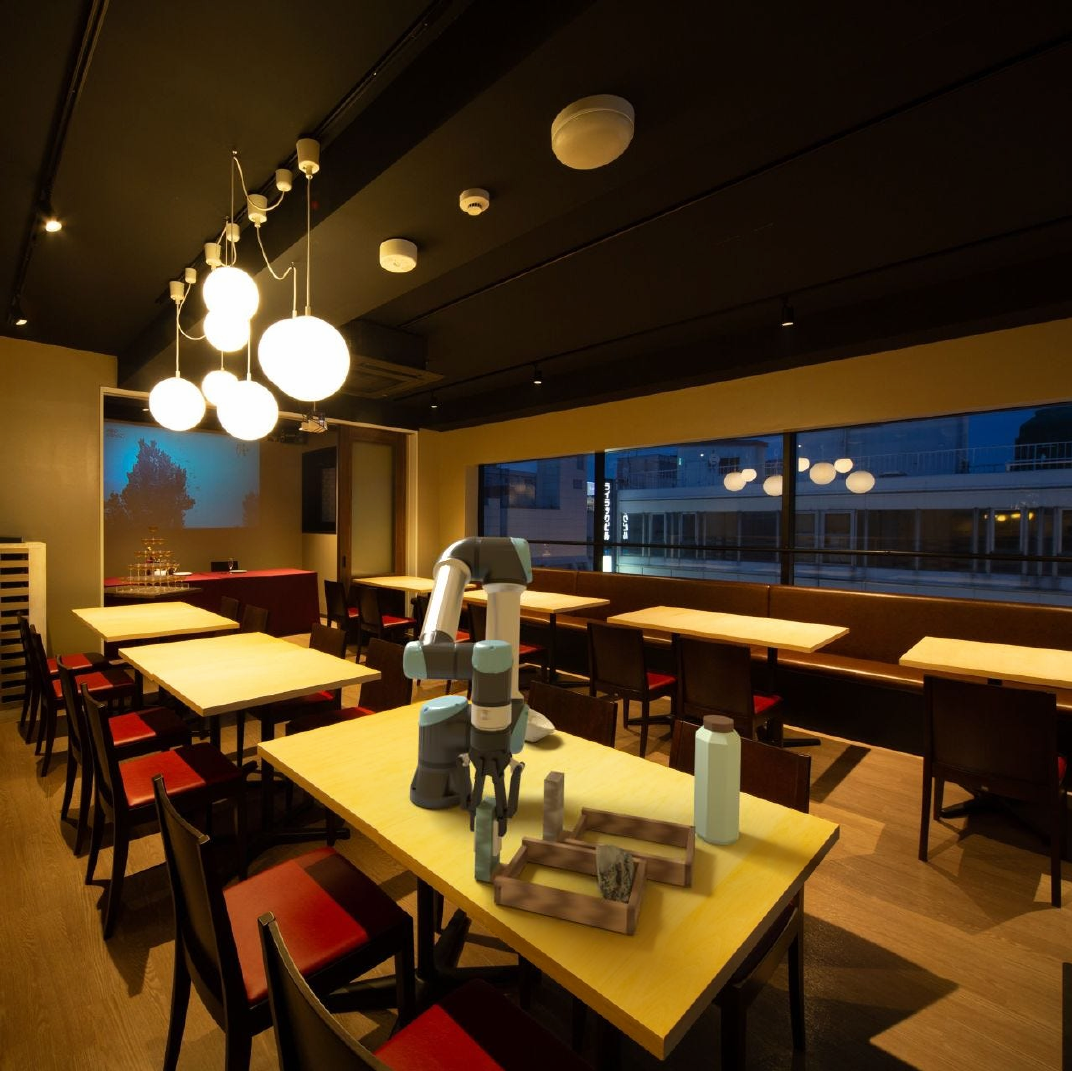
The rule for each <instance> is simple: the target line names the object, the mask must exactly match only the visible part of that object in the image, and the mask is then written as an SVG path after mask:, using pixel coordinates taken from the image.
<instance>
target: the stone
mask: <svg viewBox="0 0 1072 1071" xmlns="http://www.w3.org/2000/svg"><path fill="white" fill-rule="evenodd" d="M599 845H600V846H596V863H597V872H598V873H597V875H598V876H597V875H596V876H597V879H598V883H597V884H598V885H597V887H598V890H599V891H600V893H601V894H602V895H603V896H604V897H605V899H607V900H612V901H616V902H621V903H625V904H628V903H629V899H630V895H631V891H632V888H633V884H634V880H635V876H636V873H635V869H634V865H633V858H632V854H630V853H629V852H627V851H626V850H627V849H626V850H624V849H625V848H621V847H619V846H617V845H613V844H599Z"/></svg>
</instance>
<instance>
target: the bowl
mask: <svg viewBox="0 0 1072 1071" xmlns="http://www.w3.org/2000/svg"><path fill="white" fill-rule="evenodd" d="M555 731H556V728H555V726H554V724H553V723H552V722H551V721H550V720H549V719H548V718H547V717H546V716H545V715H543V714H541V713H540V712H537V711H536V710H534V709H531V708H529V714H528V722H527V729H526V735H525V741H528V742H537V741H539V740H540V739H543V738H544V737H546V736H548V735H550V734H553V733H554V732H555Z"/></svg>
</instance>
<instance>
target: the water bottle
mask: <svg viewBox="0 0 1072 1071" xmlns="http://www.w3.org/2000/svg"><path fill="white" fill-rule="evenodd" d="M702 722H703V725H702V726H701V727H700V728H698V730H695V743H694V744H695V746H694V747H695V748H694V750H695V751H694V786H693V788H694V789H693V824H692V826H696V829H695V836H697V837H698V838H700V839H702V840H703V841H705V842H706V843H708V844H713V845H719V846H727V845H730V844H733V843H735V842H737V840H738V839H739V838H740V837H739V836H740V835H739V834H740V802H741V801H740V798H741V793H740V792H741V791H740V790H741V753H742V752H741V750H742V749H741V748H742V747H741V746H742V742H741V736H740V734H739V733H738V732H737V731H736V730H735V729H734V728H735V726H734V719H733V718H730V717H728V716H725V715H716V714H711V715H710V714H708V715H704V716H703V721H702Z"/></svg>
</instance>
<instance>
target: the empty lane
mask: <svg viewBox="0 0 1072 1071" xmlns="http://www.w3.org/2000/svg"><path fill="white" fill-rule="evenodd" d="M564 800H565V772H559V771H555V770H554V771H553V770H550V772H549V773H548V774H547V775H546V777H544V779H543V809H542V810H543V811H542V812H543V813H542V840H546V841H551V842H556V843H561V844H566V845H571V846H576V847H582V848H587V849H592V850H596V846H600V845H601V844H600V843H593V842H589V841H582V839H583V837H584V834H585V833H586V831H587V830H591V831H596V832H602V833H607V834H612V835H618V836H623V837H628V838H634V839H639V840H646V841H651V842H656V843H662V844H667V845H673V846H678V847H683V848H684V847H685V848H686V852H685V860H683V859H677V858H672V857H667V856H663V855H657V854H652V853H645V852H642V851H641V852H640V851H635V850H630V849H625V848H623V849H624V850H626V851H627V852H629V853H630V854H632V857H633V858H638V859H643V860H647V870H646V880H652V881H656V882H661V883H667V884H672V885H676V886H681V887H685V888H692V883H693V871H694V861H695V852H696V851H695V850H696V833H695V829H696V826H693V825H689V824H683V823H678V822H671V821H667V820H661V819H660V820H659V819H653V818H647V817H643V816H637V815H630V814H625V813H619V812H613V811H609V810H608V811H607V810H602V809H601V810H600V809H595V808H590V807H584V806H582V808H581V810H580V811H581V814H580V816H579V818H578V820H577V822H576V824H575V825H574V827H573V828H572V830H569V829H564V808H565V806H564V805H565V803H564V802H565V801H564Z"/></svg>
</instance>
